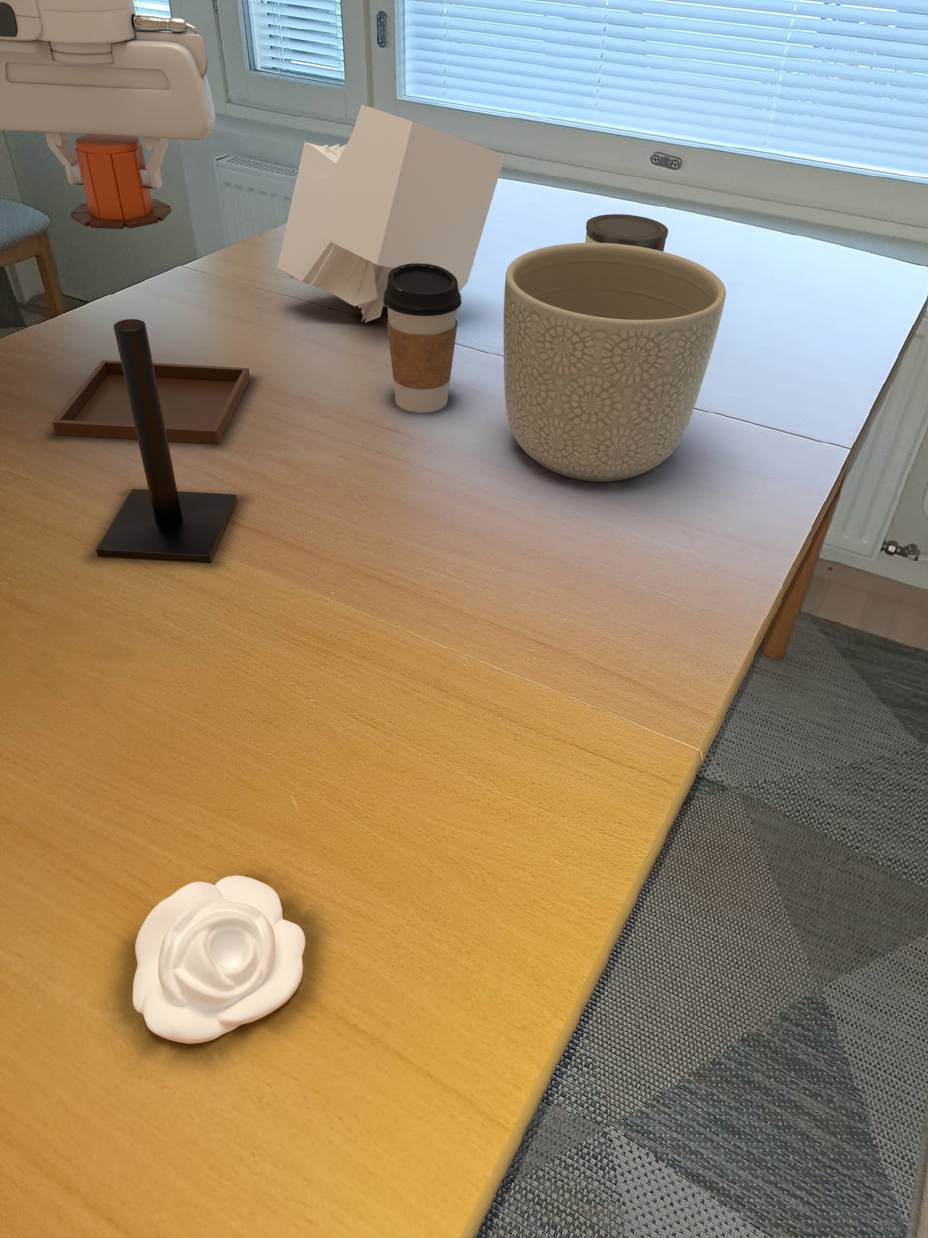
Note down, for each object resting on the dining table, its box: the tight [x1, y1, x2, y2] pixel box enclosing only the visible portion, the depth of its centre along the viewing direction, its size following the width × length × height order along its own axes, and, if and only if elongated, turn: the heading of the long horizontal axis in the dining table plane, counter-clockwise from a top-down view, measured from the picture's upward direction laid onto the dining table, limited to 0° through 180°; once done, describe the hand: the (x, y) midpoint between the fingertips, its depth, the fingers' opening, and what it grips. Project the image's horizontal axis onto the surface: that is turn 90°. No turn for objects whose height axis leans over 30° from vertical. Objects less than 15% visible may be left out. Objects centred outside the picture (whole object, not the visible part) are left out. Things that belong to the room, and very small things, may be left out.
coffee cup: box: [383, 263, 463, 414], centre depth 101 cm, size 8×8×15 cm
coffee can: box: [584, 213, 669, 252], centre depth 119 cm, size 10×10×14 cm
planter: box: [502, 242, 727, 483], centre depth 93 cm, size 21×21×19 cm
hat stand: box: [95, 318, 238, 564], centre depth 78 cm, size 10×10×20 cm
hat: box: [70, 134, 172, 230], centre depth 86 cm, size 9×9×7 cm
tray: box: [51, 359, 251, 446], centre depth 101 cm, size 17×15×2 cm
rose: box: [132, 875, 306, 1044], centre depth 51 cm, size 10×4×10 cm
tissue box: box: [276, 104, 506, 323], centre depth 119 cm, size 20×16×25 cm
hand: (115, 185), depth 87 cm, fingers closed on hat, 5 cm apart
